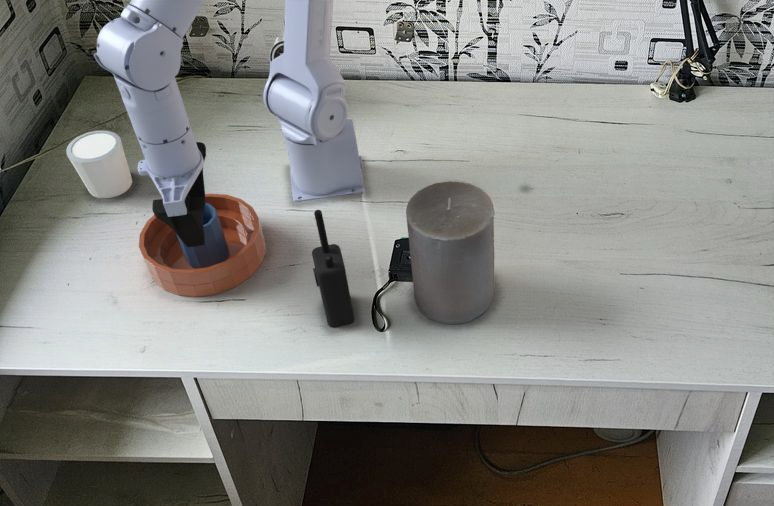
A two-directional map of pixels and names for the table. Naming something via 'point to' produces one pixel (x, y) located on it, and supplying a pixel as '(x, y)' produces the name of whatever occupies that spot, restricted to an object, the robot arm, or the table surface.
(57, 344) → the table surface
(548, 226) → the table surface
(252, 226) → the bowl
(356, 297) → the table surface
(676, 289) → the table surface
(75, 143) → the white cylinder
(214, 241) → the blue cup
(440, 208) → the pillar candle
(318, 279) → the walkie-talkie
